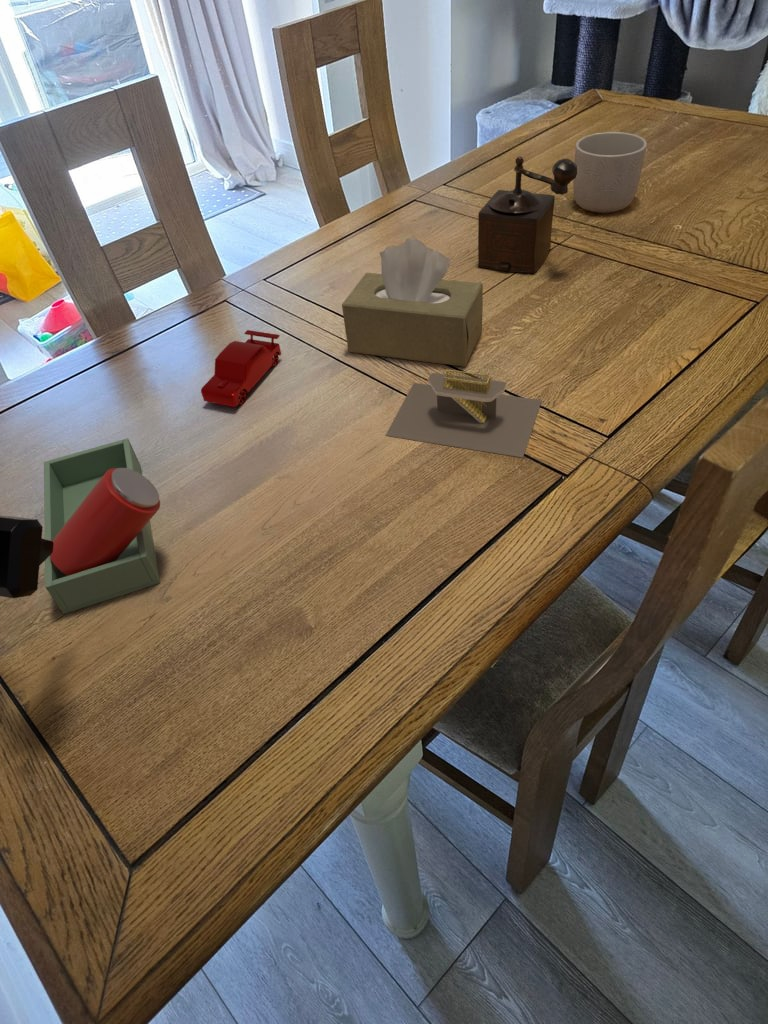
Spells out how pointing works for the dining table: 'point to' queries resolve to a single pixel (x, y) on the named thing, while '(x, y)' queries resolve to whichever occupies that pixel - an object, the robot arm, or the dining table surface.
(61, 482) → the bin
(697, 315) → the dining table surface
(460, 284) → the tissue box
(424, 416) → the platform
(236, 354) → the toy car
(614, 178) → the planter
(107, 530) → the can
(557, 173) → the manual coffee grinder
